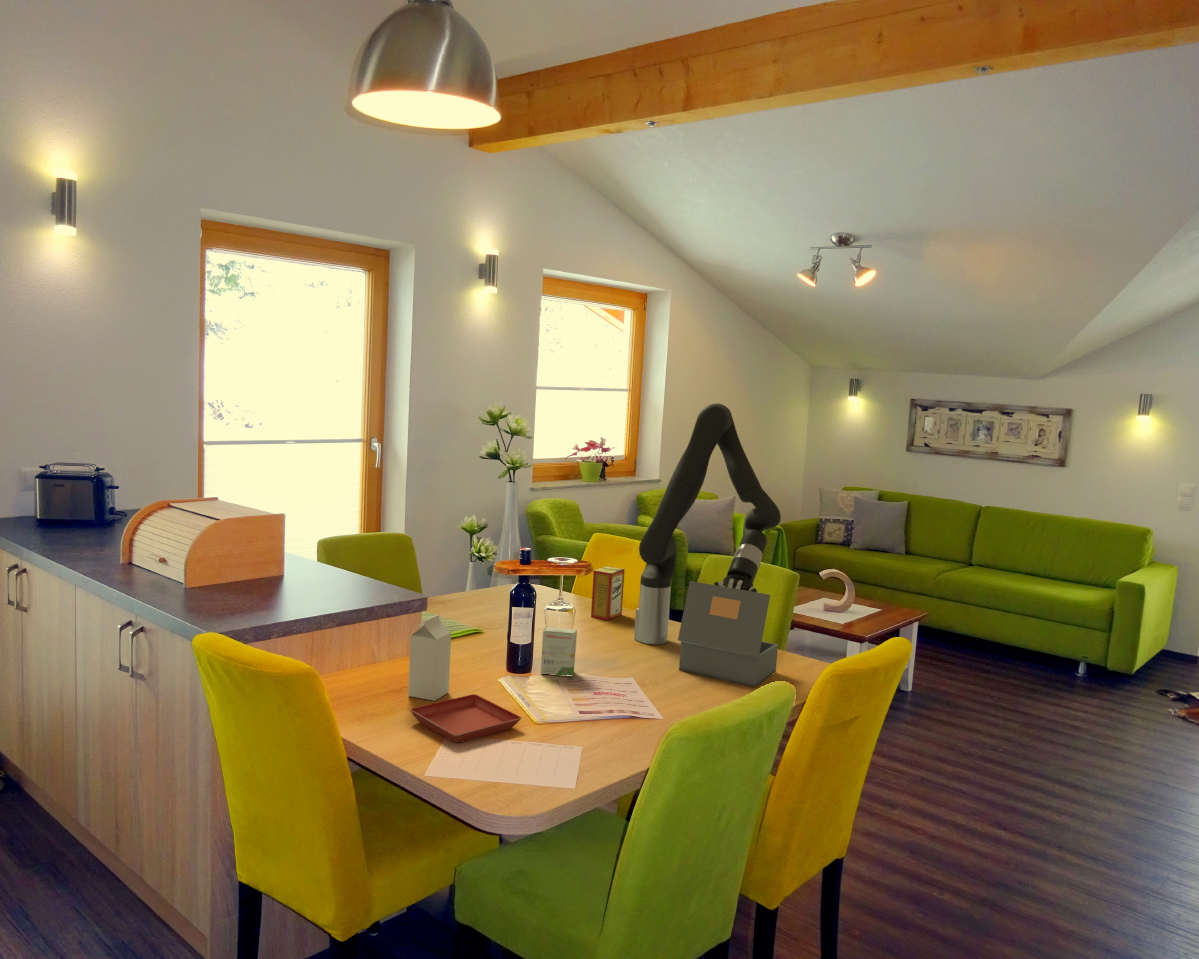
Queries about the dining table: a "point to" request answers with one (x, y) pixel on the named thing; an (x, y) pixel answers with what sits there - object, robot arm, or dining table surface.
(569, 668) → the ink box
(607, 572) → the baking soda box
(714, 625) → the mailer lid
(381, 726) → the dining table surface
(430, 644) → the milk carton
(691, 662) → the mailer box
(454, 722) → the plant saucer
